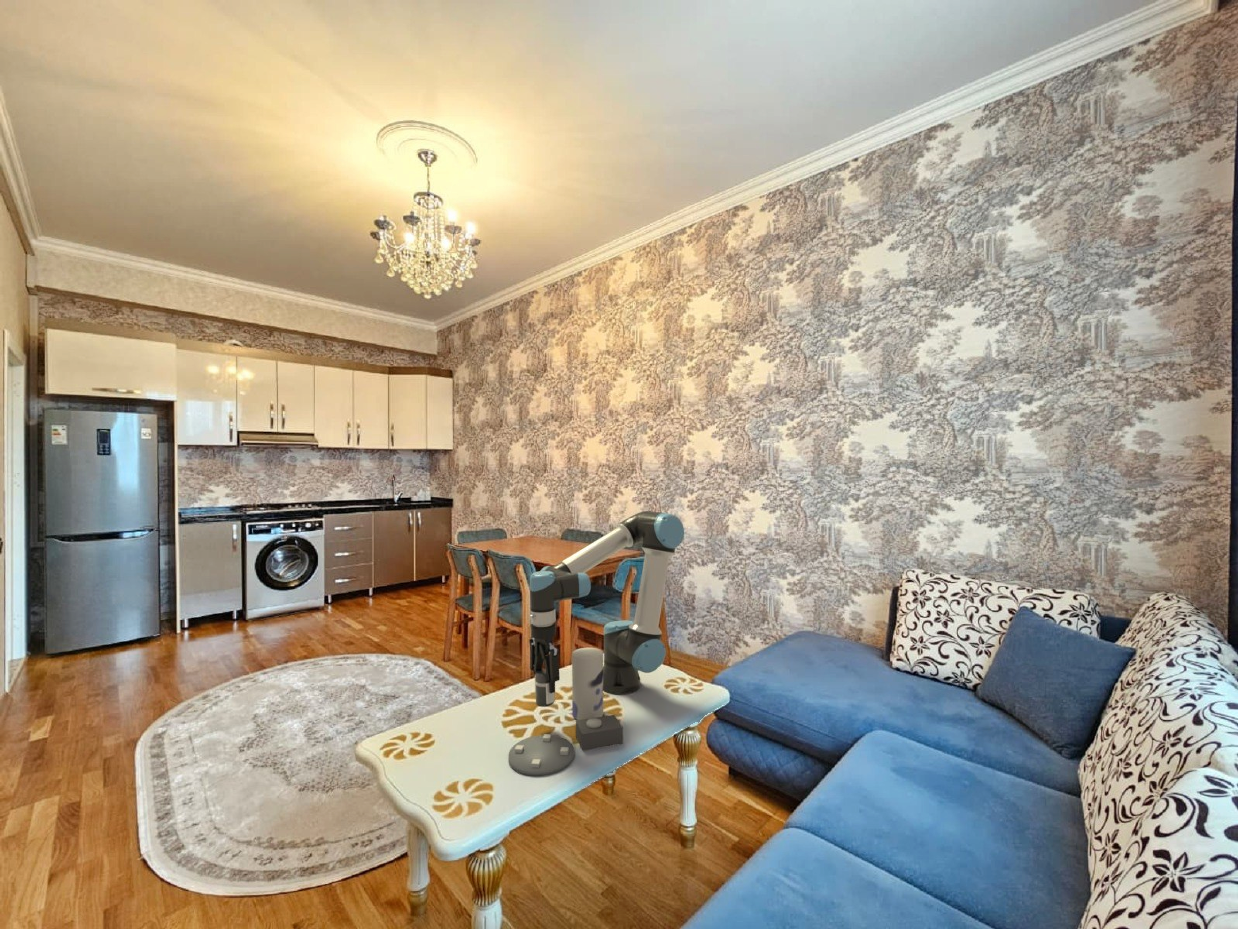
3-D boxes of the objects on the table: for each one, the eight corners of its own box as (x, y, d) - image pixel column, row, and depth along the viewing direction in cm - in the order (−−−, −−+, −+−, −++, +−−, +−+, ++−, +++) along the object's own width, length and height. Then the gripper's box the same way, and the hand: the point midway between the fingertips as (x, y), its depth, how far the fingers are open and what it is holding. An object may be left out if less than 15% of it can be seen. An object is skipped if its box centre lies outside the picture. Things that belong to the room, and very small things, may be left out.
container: (599, 723, 158) (598, 659, 159) (568, 720, 160) (568, 657, 161) (606, 708, 168) (606, 648, 168) (577, 706, 170) (577, 646, 170)
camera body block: (614, 731, 154) (614, 712, 154) (622, 744, 147) (622, 724, 147) (575, 737, 151) (575, 718, 151) (582, 752, 143) (582, 731, 143)
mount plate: (551, 732, 153) (551, 725, 153) (587, 758, 139) (587, 750, 139) (496, 754, 142) (496, 746, 142) (529, 784, 128) (529, 776, 128)
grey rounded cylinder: (548, 696, 159) (547, 667, 159) (558, 702, 155) (557, 673, 155) (532, 702, 156) (531, 673, 155) (541, 709, 151) (541, 679, 151)
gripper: (517, 619, 160) (519, 692, 160) (549, 633, 145) (551, 714, 146) (538, 614, 165) (539, 685, 165) (570, 627, 150) (572, 705, 150)
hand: (545, 698), depth 155 cm, fingers closed on grey rounded cylinder, 6 cm apart
